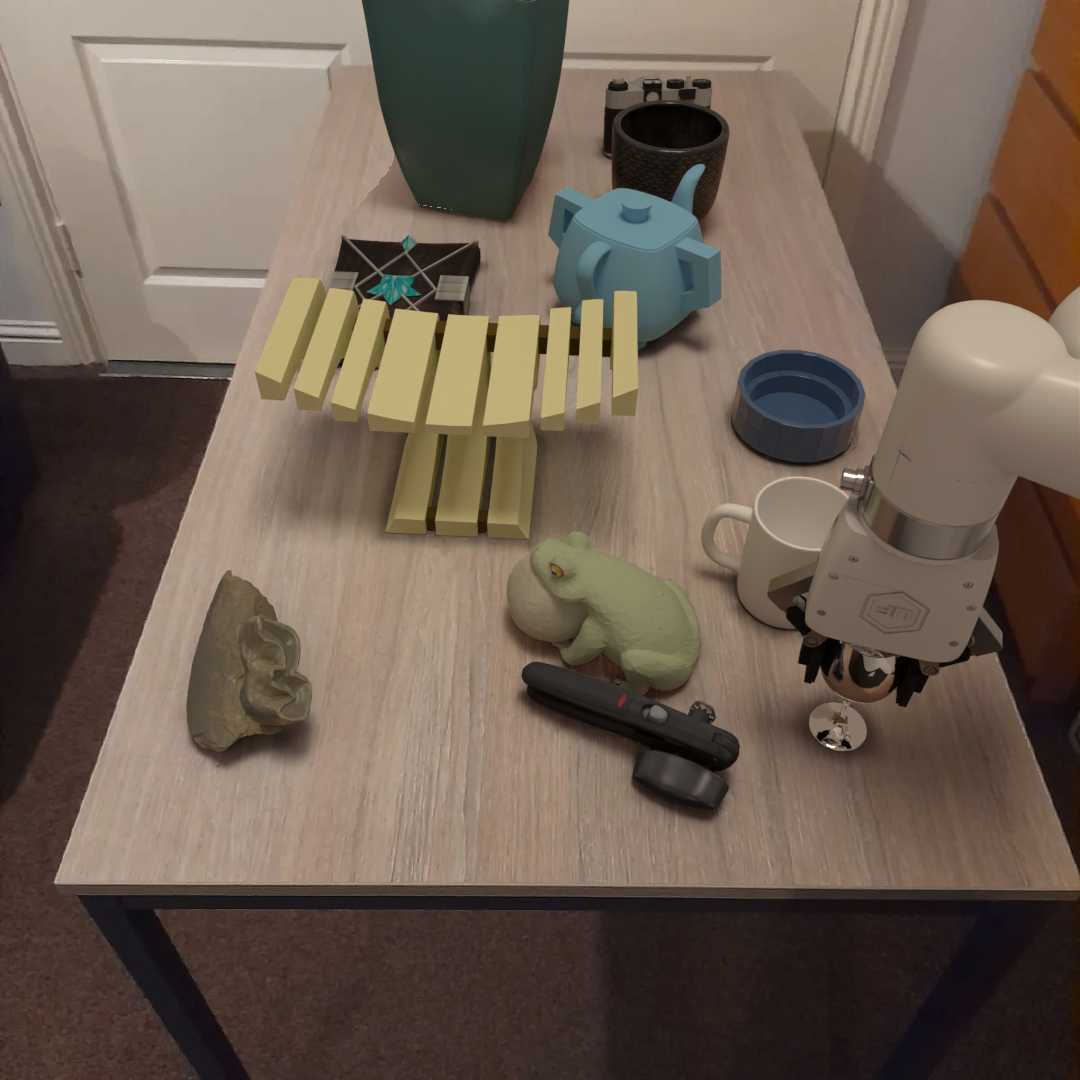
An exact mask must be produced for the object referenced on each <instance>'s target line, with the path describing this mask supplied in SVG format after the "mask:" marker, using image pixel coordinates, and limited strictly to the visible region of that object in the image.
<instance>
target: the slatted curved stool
mask: <svg viewBox="0 0 1080 1080" xmlns="http://www.w3.org/2000/svg"><path fill="white" fill-rule="evenodd" d="M324 287H325V285H324V284H323V282H322V280H321V279H320V278H313V277H294V278H293V279H292V280H291V282H290V283H289V286H288V289H287V291H286V293H285V296H284V299H283V301H282V303H281V306H280V308H279V311H278V313H277V316H276V317H275V320H274V323H273V325H272V328H271V330H270V333H269V335H268V338H267V340H266V343H265V345H264V348H263V350H262V352H261V354H260V357H259V360H258V362H257V364H256V366H255V369H254V375H255V379H256V383H257V387H258V390H259V391H258V392H259V394H260V399H261V400H264V401H265V400H267V401H286V398H287V395H288V392H289V390H290V387H291V385H292V382H293V380H294V377H295V375H296V373H297V371H298V368H299V366H300V364H301V366H300V369H299V372H298V375H297V377H296V380H295V383H294V386H293V393H294V398H295V403H296V407H297V410H298V411H310V412H313V411H314V412H321V411H322V410H323V407H324V403H325V401H326V397H327V395H328V392H329V388H330V387H331V383H332V381H333V379H334V377H335V374H336V370H337V369H338V366H339V364H340V363H339V362H340V361H341V359H344V362H343V363H342V366H341V369H340V372H339V375H338V378H337V382H336V385H335V388H334V391H333V394H332V397H331V400H330V405H331V410H332V415H333V420H334V421H335V422H337V421H339V422H358V419H359V416H360V413H361V409H362V406H363V403H364V399H365V396H366V394H367V390H368V388H369V385H370V382H371V379H372V377H373V373H374V371H375V369H376V368H378V371H377V374H376V378H375V383H374V385H373V389H372V393H371V397H370V401H369V404H368V408H367V412H366V414H367V421H368V422H367V423H368V428H369V431H370V432H388V433H389V432H391V433H408V434H407V437H406V440H405V442H404V447H403V452H402V456H401V462H400V464H399V468H398V474H397V478H396V483H395V487H394V492H393V496H392V499H391V501H392V502H391V505H390V508H389V509H390V510H389V514H388V519H387V523H386V527H385V532H384V533H389V534H390V533H391V534H412V535H427V532H428V530H435V534H436V536H450V537H451V536H452V537H472V538H473V537H474V538H477V537H478V536H479V535H478V534H479V533H487V538H489V539H491V538H493V539H511V540H512V539H514V540H530V534H531V533H530V532H531V521H532V509H533V500H534V499H533V498H534V487H535V477H536V465H537V457H538V456H537V454H538V442H537V437H536V436H537V435H536V433H535V429H534V427H533V422H532V414H533V404H534V397H535V391H536V390H537V389H538V385H539V384H538V382H539V372H540V364H541V363H540V362H541V355H545V367H544V379H543V389H542V399H541V400H542V401H541V410H540V411H541V412H540V431H558V432H564V431H565V417H566V403H567V388H568V375H569V365H570V356H573V357H578V372H577V388H576V389H577V390H576V407H575V423H577V424H597V425H598V424H600V418H601V417H600V415H601V401H602V364H603V363H602V362H603V358H609V370H611V416H622V417H636V414H637V413H636V411H637V403H638V393H639V361H638V360H639V358H638V357H639V356H638V354H639V353H638V352H639V349H638V347H637V292H636V291H614V299H613V312H612V325H611V328H603V299H592V300H583V301H582V312H581V325H579V326H578V325H577V326H575V325H572V319H571V317H572V313H571V307H566V308H565V307H554V308H553V307H552V308H550V309H549V310H550V311H549V322H548V324H541V314H523V315H522V314H518V315H499V316H498V322H490V321H491V320H490V315H468V316H467V315H451V314H448V319H447V321H440V320H439V315H438V313H430V312H421V311H412V310H403V309H395V312H394V316H393V319H390V317H389V311H388V306H387V303H386V302H383V301H377V300H370V299H363V302H362V305H361V308H360V311H359V309H358V303H357V299H356V295H355V293H354V291H350V290H344V289H337V288H329V291H328V294H327V296H326V292H325V288H324ZM492 353H493V355H492ZM302 360H303V361H302ZM301 361H302V363H301ZM445 435H447V439H446V448H445V456H444V463H443V464H444V465H443V469H442V470H443V471H442V477H441V484H440V490H439V496H438V501H437V506H435V507H434V506H432V505H433V500H434V495H435V490H436V483H437V478H438V473H439V469H440V463H441V455H442V452H443V446H444V442H445V441H444V440H445ZM492 437H495V438H496V441H495V453H494V461H493V462H494V464H493V471H492V472H493V473H492V481H491V489H490V498H489V506H488V509H482V507H483V500H484V492H485V485H486V479H487V471H488V464H489V457H490V448H491V442H492Z"/></svg>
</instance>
